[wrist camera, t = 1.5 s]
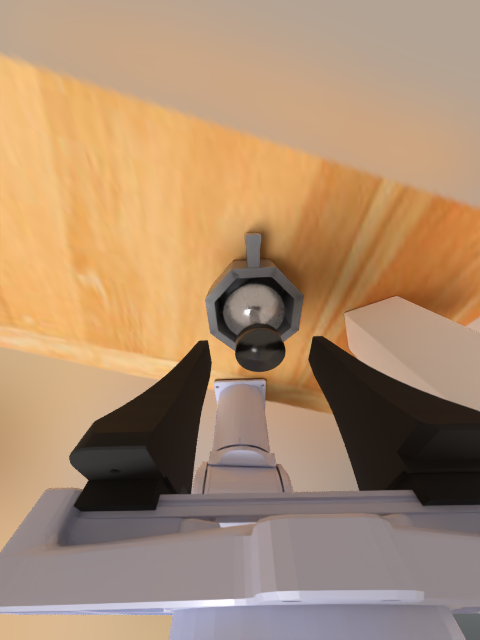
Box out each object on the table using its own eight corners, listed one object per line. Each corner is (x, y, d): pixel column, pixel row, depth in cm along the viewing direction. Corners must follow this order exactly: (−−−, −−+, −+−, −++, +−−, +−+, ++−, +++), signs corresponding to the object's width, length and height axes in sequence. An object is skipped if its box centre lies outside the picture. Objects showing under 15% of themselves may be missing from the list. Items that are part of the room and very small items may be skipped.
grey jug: (286, 330, 22) (295, 350, 19) (217, 333, 22) (213, 353, 19) (297, 230, 17) (312, 232, 13) (204, 235, 17) (195, 237, 13)
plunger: (281, 334, 19) (299, 382, 13) (226, 336, 19) (220, 385, 13) (285, 281, 16) (311, 312, 10) (221, 283, 16) (210, 316, 10)
